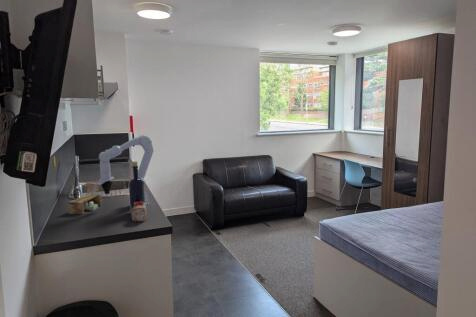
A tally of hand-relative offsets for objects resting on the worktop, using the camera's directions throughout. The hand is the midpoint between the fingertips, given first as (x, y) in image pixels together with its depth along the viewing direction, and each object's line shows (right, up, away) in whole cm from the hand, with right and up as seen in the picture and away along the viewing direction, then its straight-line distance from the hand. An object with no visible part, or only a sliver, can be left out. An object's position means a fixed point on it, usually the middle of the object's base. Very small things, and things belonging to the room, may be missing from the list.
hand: (107, 193), depth 207 cm
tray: (-12, -10, +1) cm, 15 cm away
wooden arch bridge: (-13, -10, +2) cm, 17 cm away
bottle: (+21, -10, -7) cm, 24 cm away
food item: (+25, -12, -19) cm, 34 cm away
